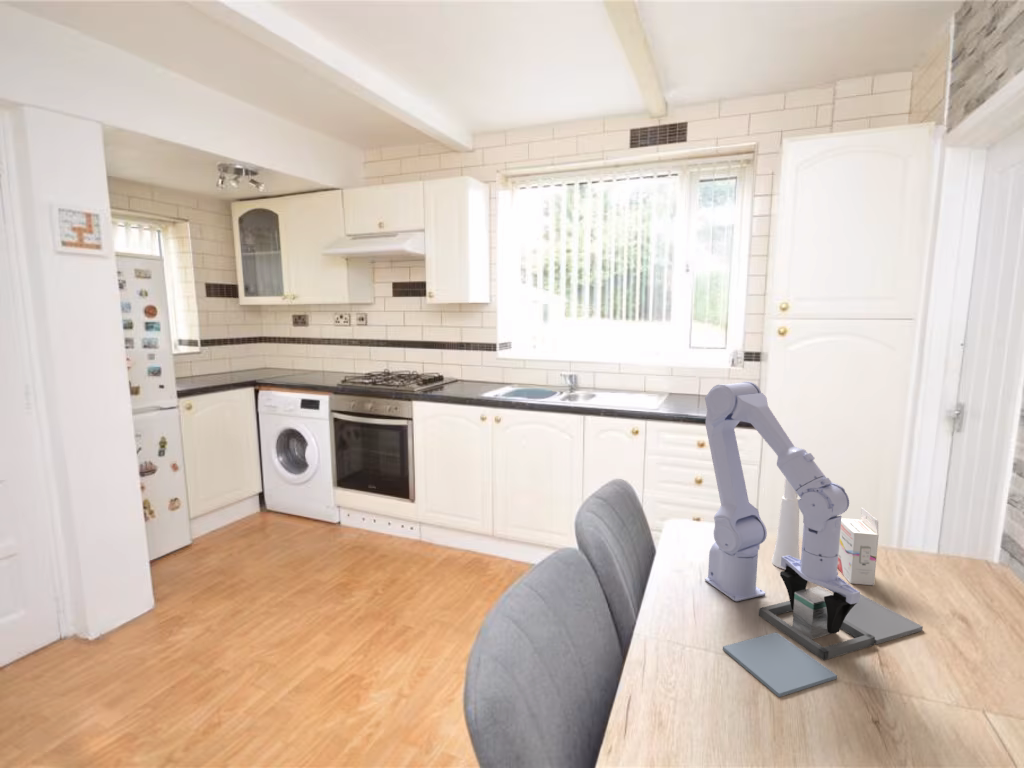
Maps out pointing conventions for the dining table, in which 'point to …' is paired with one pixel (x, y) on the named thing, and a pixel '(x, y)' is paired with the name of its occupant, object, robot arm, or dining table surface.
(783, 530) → the cosmetic bottle
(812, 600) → the block
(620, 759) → the dining table surface
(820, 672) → the pad
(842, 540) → the ink cartridge box
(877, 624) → the hinged gray frame
